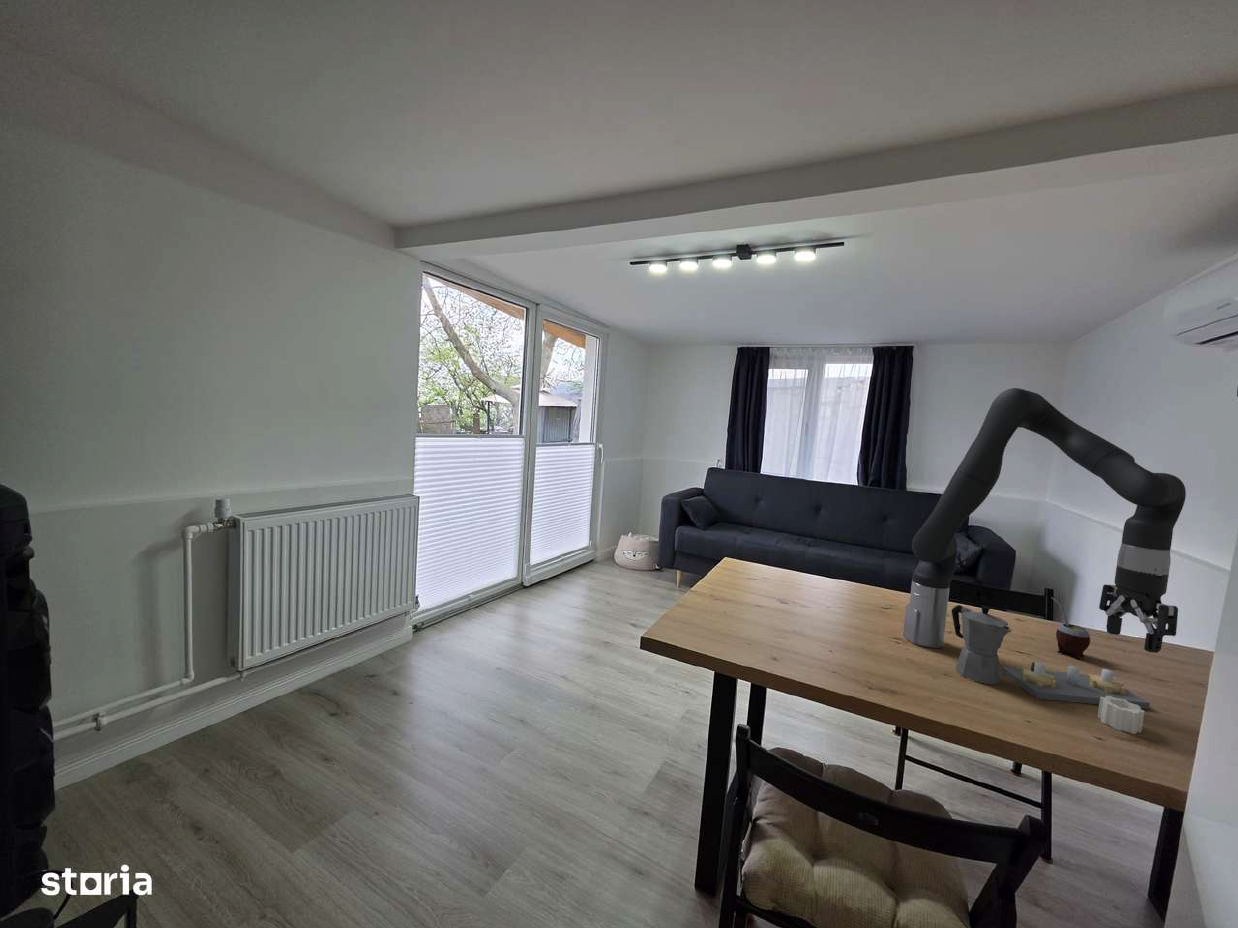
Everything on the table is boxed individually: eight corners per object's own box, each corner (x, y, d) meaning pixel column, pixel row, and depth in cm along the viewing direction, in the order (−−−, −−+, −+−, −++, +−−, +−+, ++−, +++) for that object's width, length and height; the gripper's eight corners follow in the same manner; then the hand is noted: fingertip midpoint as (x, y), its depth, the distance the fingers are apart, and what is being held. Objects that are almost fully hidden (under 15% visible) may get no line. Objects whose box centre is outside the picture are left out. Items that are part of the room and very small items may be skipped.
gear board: (1036, 698, 115) (1039, 675, 114) (1001, 672, 126) (1004, 651, 126) (1148, 708, 112) (1152, 685, 112) (1102, 681, 124) (1105, 660, 124)
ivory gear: (1116, 731, 103) (1119, 711, 102) (1089, 713, 109) (1092, 694, 109) (1150, 735, 102) (1154, 714, 102) (1121, 716, 109) (1124, 697, 108)
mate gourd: (1094, 662, 135) (1101, 609, 134) (1061, 657, 137) (1068, 605, 136) (1074, 650, 143) (1081, 599, 141) (1043, 646, 144) (1050, 596, 143)
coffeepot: (1018, 688, 119) (1027, 616, 117) (987, 691, 117) (996, 617, 115) (961, 657, 134) (968, 593, 132) (932, 659, 132) (939, 594, 130)
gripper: (1093, 557, 110) (1084, 627, 112) (1156, 576, 96) (1145, 656, 97) (1129, 559, 110) (1119, 630, 111) (1198, 579, 95) (1186, 660, 97)
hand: (1131, 642), depth 104 cm, fingers open, 8 cm apart
